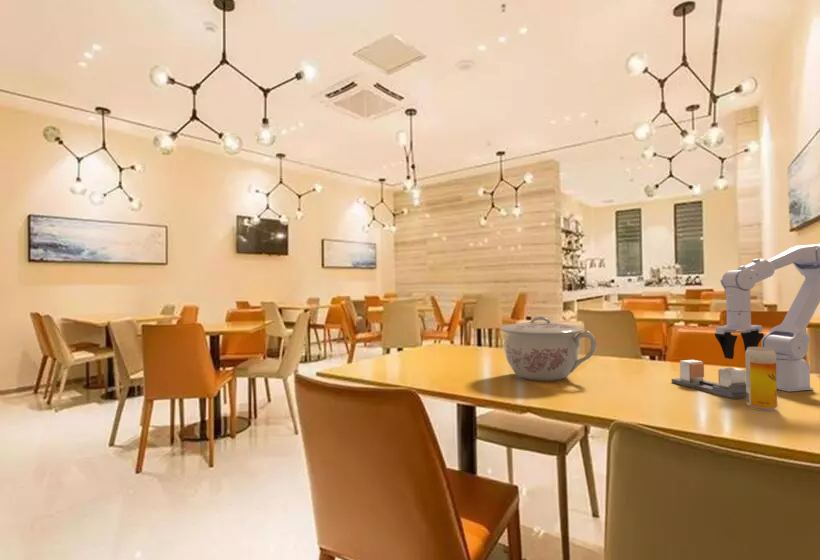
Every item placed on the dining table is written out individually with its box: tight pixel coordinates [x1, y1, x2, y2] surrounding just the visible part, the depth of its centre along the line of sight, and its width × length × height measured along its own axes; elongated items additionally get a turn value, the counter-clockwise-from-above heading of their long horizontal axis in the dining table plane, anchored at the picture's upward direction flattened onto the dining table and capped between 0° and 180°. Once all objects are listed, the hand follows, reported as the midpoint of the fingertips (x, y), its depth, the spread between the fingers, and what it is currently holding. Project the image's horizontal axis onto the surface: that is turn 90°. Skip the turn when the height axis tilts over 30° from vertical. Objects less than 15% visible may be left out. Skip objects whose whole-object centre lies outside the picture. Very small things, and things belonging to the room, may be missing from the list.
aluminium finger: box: [717, 367, 746, 389], centre depth 126 cm, size 4×5×6 cm
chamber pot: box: [499, 316, 598, 382], centre depth 153 cm, size 28×28×21 cm
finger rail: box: [671, 359, 746, 400], centre depth 133 cm, size 21×8×7 cm, turn 13°
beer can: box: [744, 346, 778, 412], centre depth 113 cm, size 6×6×15 cm
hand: (739, 357), depth 131 cm, fingers open, 7 cm apart
